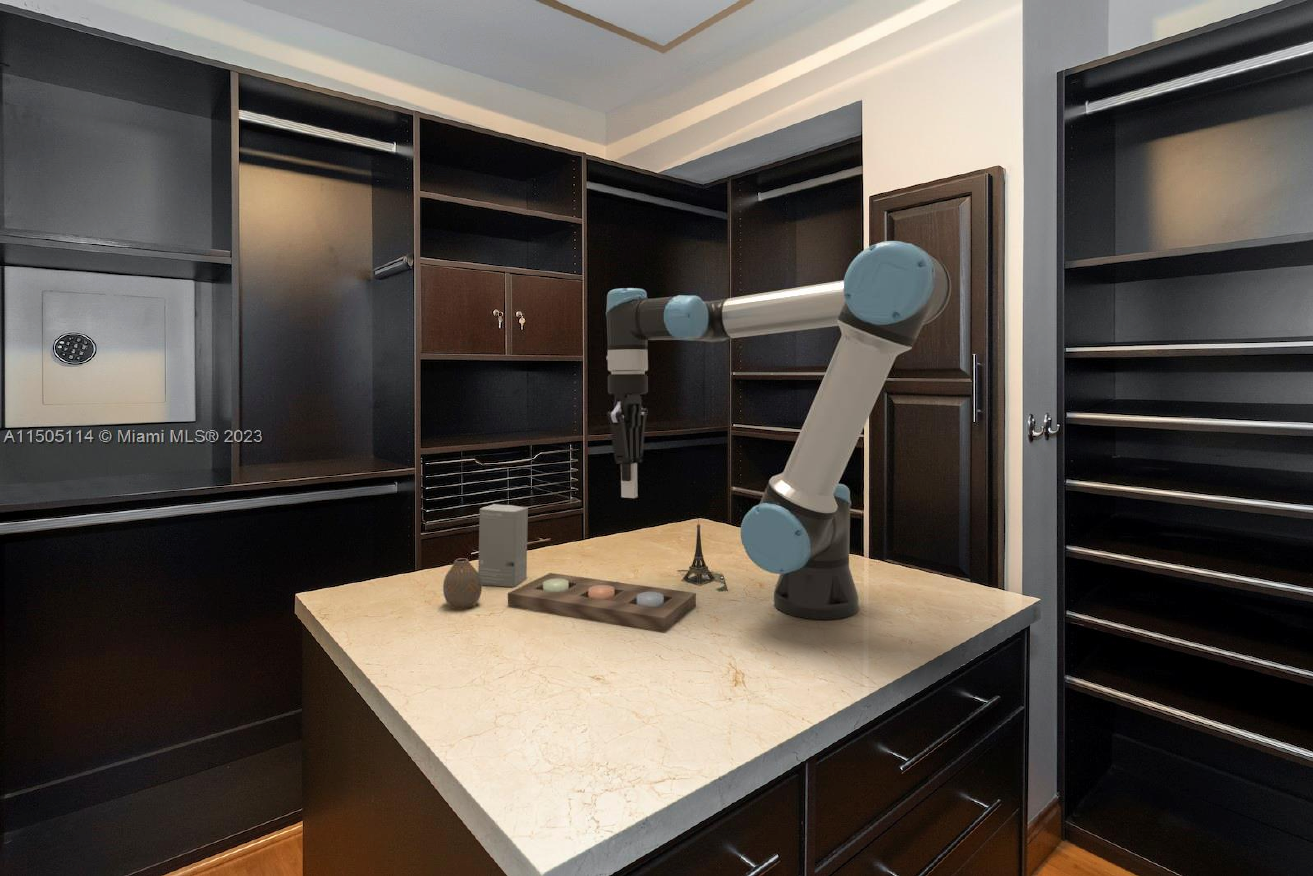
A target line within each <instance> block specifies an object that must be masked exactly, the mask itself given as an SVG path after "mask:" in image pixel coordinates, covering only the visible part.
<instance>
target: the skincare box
mask: <svg viewBox="0 0 1313 876" xmlns="http://www.w3.org/2000/svg"><path fill="white" fill-rule="evenodd" d="M528 514H529V507H528V506H518V505H513V504H497V503H492V504H490V505H487V506H483V507H481V508H479V522H478V523H479V524H478V525H479V527H478V529H479V530H478V568H477V569H478V571H477V572H478V574H479V576H480V579H481V584H482V586H494V587H510V588H511V587H512V588H515V587H516V586H518V585H520V584H521V583H523V582H524V581H525V580H527V569H528V519H529V518H528V517H529V516H528Z"/></svg>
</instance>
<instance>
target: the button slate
mask: <svg viewBox="0 0 1313 876" xmlns="http://www.w3.org/2000/svg"><path fill="white" fill-rule="evenodd" d="M663 604H664V596H663V594H661V593H658V592H643V593H640V594H638V595H637V605H643V606H650V607H656V608H659V607H660V606H661V605H663Z"/></svg>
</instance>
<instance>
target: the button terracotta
mask: <svg viewBox="0 0 1313 876" xmlns="http://www.w3.org/2000/svg"><path fill="white" fill-rule="evenodd" d="M588 597H590V598H597V599H603V600H609V599H610V598H612V597H614V587H612V586H609V585H597V586H592V587H590V588H589V589H588Z"/></svg>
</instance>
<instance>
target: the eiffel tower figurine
mask: <svg viewBox="0 0 1313 876" xmlns="http://www.w3.org/2000/svg"><path fill="white" fill-rule="evenodd" d="M697 522H698V523H697V525H696V541H695V553H694V556H693V560H692V563H691V565H690V566H689V569H677V570H676V571H677V572H679V573H681V572H686V574H685V575H684V576H683V578H682V579H680V581H681V582H684V583H688V584H691V585H695V586H698V587H701V586H704V585H707V584H709V583H713V582H716V583H720V584H721V585H722V584H723V585H722V586H721V587H717V588H715V590H716V591H717V592H719V593H720V592H729V590H728V589H729V588H728V585H727V582H726V579H725V576H724V574H722V573H720V574H718V573H719V572H715V571H710V570H709V566H708V565H707V564H706V562H705V558H704V554H703V551H702V550H703V549H702V539H701V538H702V537H701V524H700V523H699V522H700V520H699V518H698V521H697ZM714 572H715V573H714ZM692 574H694V575H692ZM691 575H692V576H691ZM721 577H723V578H721Z"/></svg>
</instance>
